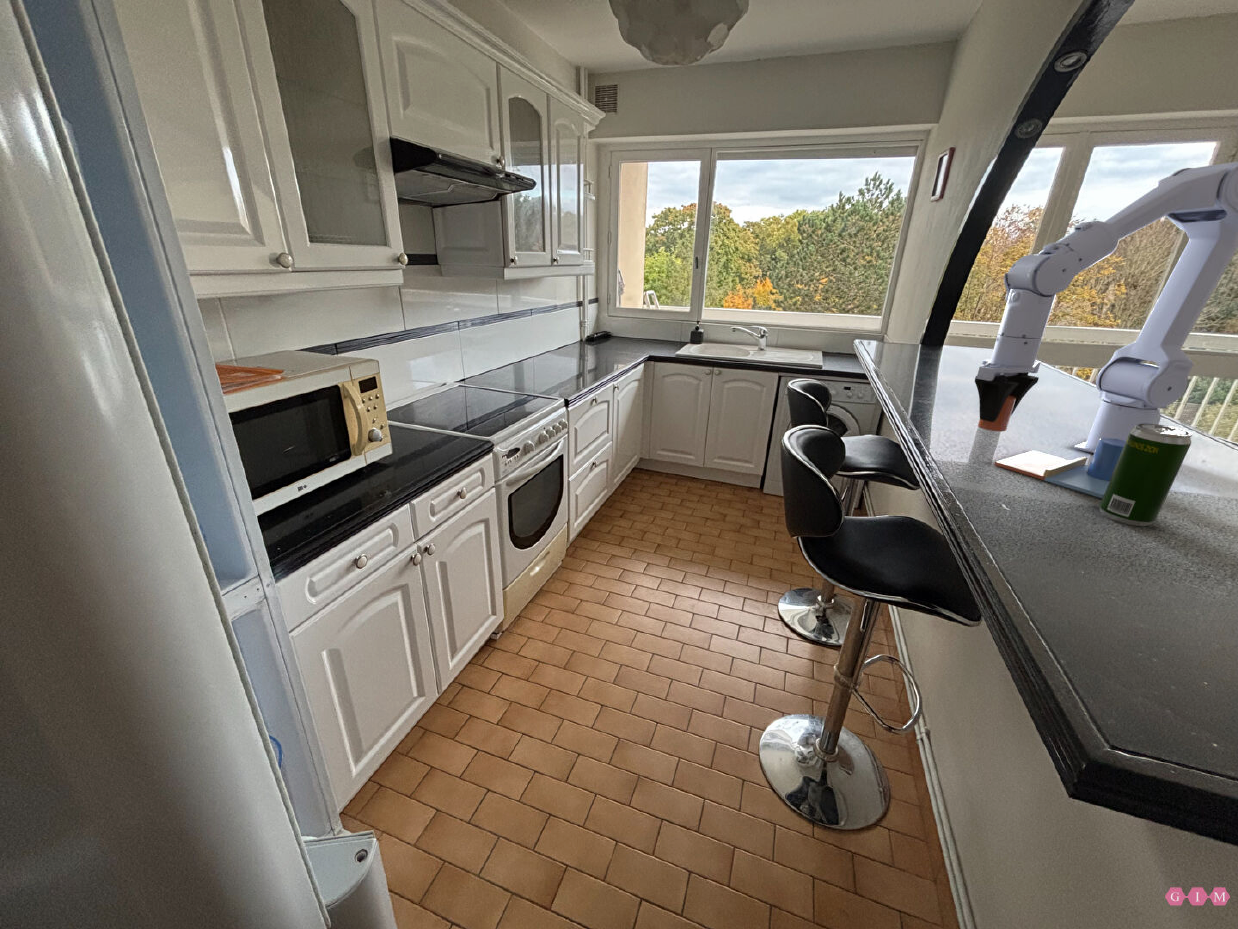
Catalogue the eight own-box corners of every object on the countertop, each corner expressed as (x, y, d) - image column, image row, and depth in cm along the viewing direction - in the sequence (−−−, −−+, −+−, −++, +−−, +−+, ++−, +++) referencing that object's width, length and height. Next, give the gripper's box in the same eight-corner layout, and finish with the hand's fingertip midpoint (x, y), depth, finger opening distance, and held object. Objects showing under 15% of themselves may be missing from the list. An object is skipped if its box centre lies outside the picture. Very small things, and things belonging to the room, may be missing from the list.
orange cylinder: (985, 423, 88) (994, 392, 86) (1011, 429, 85) (1021, 397, 83) (972, 426, 86) (981, 394, 84) (998, 432, 83) (1008, 400, 81)
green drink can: (1146, 531, 62) (1189, 439, 58) (1090, 514, 66) (1126, 426, 62) (1159, 520, 65) (1200, 431, 60) (1104, 504, 69) (1139, 420, 64)
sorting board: (1032, 453, 87) (1035, 443, 87) (1138, 483, 76) (1142, 472, 75) (994, 464, 82) (997, 454, 81) (1101, 498, 71) (1106, 486, 70)
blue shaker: (1093, 469, 79) (1106, 436, 77) (1126, 478, 76) (1141, 444, 74) (1081, 474, 77) (1094, 440, 75) (1114, 483, 74) (1129, 448, 72)
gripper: (1015, 330, 86) (992, 407, 91) (967, 335, 80) (945, 417, 85) (1065, 336, 81) (1037, 417, 86) (1016, 341, 74) (990, 429, 79)
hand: (994, 418), depth 85 cm, fingers closed on orange cylinder, 4 cm apart
